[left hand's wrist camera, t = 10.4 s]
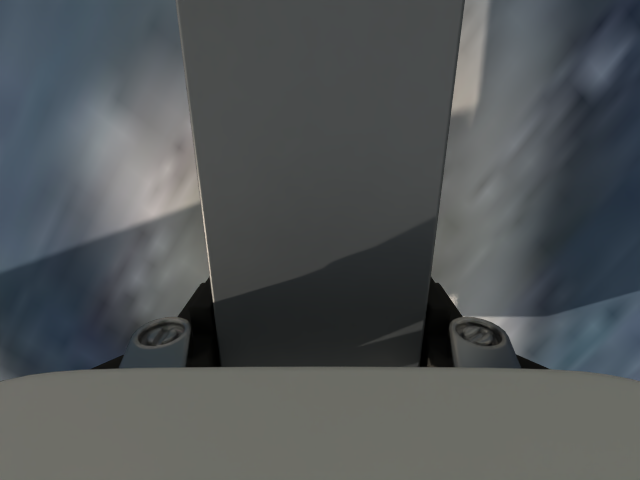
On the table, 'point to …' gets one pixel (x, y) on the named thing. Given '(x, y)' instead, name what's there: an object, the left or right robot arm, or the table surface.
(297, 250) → the beam
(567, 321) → the table surface
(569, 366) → the table surface
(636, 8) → the table surface
